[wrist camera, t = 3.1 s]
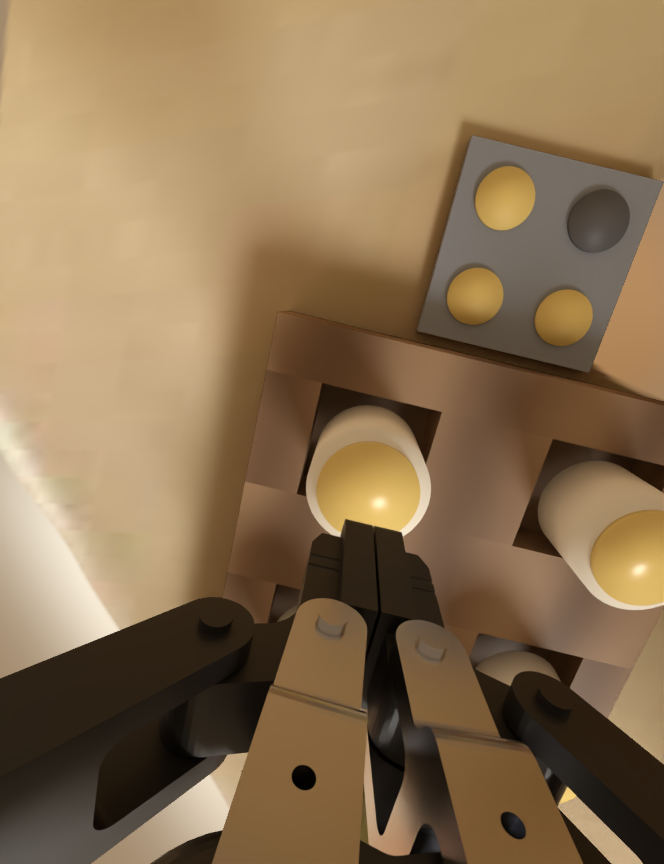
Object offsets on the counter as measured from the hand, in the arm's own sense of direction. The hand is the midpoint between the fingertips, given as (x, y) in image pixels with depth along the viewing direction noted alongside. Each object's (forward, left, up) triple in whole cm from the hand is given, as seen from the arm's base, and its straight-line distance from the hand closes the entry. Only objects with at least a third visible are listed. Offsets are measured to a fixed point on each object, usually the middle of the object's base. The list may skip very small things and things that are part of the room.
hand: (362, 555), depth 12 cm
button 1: (0, 0, -8) cm, 8 cm away
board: (-5, +5, -11) cm, 13 cm away
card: (-5, -10, -11) cm, 16 cm away
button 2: (-10, 0, -8) cm, 13 cm away
